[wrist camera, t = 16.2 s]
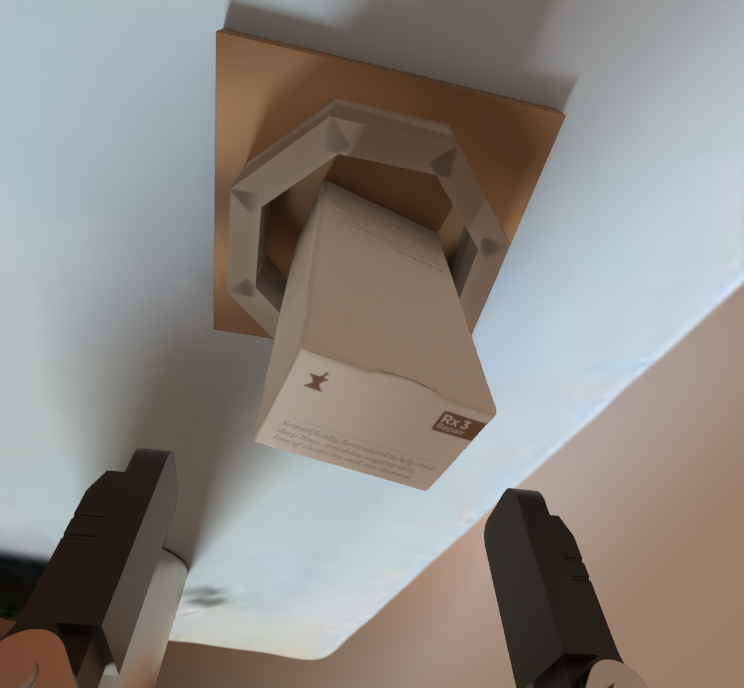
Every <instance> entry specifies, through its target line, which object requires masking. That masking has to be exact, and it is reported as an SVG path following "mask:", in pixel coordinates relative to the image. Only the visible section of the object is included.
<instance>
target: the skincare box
mask: <svg viewBox="0 0 744 688" xmlns="http://www.w3.org/2000/svg"><path fill="white" fill-rule="evenodd" d="M495 415H496V407H495V404H494V402H493V399H492V396H491V393H490V390H489V387H488V384H487V381H486V378H485V375H484V372H483V369H482V366H481V363H480V360H479V357H478V354H477V351H476V348H475V345H474V342H473V339H472V336H471V333H470V330H469V327H468V324H467V321H466V318H465V315H464V312H463V309H462V306H461V303H460V300H459V297H458V294H457V291H456V288H455V285H454V282H453V279H452V276H451V273H450V270H449V267H448V264H447V261H446V258H445V255H444V252H443V249H442V246H441V242H440V239H439V237H438V234H437V233H436V232H435V231H432V230H430V229H428V228H426V227H424V226H422V225H419V224H417V223H415V222H413V221H411V220H409V219H407V218H405V217H403V216H401V215H399V214H396V213H394V212H392V211H390V210H388V209H386V208H384V207H382V206H380V205H378V204H375V203H373V202H371V201H369V200H367V199H365V198H363V197H361V196H359V195H356V194H354V193H352V192H350V191H348V190H346V189H344V188H342V187H340V186H338V185H336V184H334V183H331V182H329V181H324V182H323V183H322V185H321V188H320V190H319V192H318V195H317V197H316V199H315V201H314V204H313V206H312V208H311V210H310V213H309V215H308V217H307V220H306V222H305V224H304V227H303V229H302V231H301V234H300V236H299V238H298V241H297V243H296V246H295V248H294V251H293V256H292V262H291V267H290V272H289V275H288V280H287V284H286V289H285V293H284V298H283V302H282V307H281V311H280V316H279V321H278V325H277V330H276V334H275V339H274V343H273V348H272V352H271V357H270V361H269V366H268V370H267V375H266V380H265V385H264V392H263V396H262V400H261V403H260V407H259V411H258V415H257V420H256V425H255V430H254V440H255V442H257V443H260V444H264V445H267V446H271V447H275V448H278V449H282V450H285V451H289V452H292V453H296V454H299V455H303V456H306V457H310V458H313V459H317V460H320V461H324V462H327V463H331V464H334V465H338V466H342V467H345V468H348V469H352V470H355V471H359V472H362V473H366V474H369V475H373V476H376V477H380V478H383V479H387V480H390V481H393V482H397V483H401V484H404V485H408V486H411V487H414V488H417V489H420V490H424V491H425V490H428V489H429V487H430V486H431V485H432V484H433V483H434V482H435V481H436V480H437V479H438V478H439V477H440V476H441V475H442V474H443V473H444V472H445V470H446V469H447V468H448V467H449V466H450V465H451V464H452V463H453V462H454V460H455V459H456V458H457V457H458V456H459V455H460V454H461V452H462V451H463V450H464V449H465V448H466V447H467V446H468V445H469V444H470V443H471V441H472V440H473V439H474V438H475V437H476V436H477V434H478V433H479V432H480V431H481V430H482V429H483V428H484V427H485V425H486V424H488V423H489V422H490V421H491V420H492V419H493V417H494V416H495Z"/></svg>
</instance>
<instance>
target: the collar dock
mask: <svg viewBox="0 0 744 688" xmlns="http://www.w3.org/2000/svg"><path fill="white" fill-rule="evenodd" d="M565 116H566V115H564V114H563V113H562V112H560V111H559V110H557V109H553V108H549V107H545V106H541V105H536V104H532V103H528V102H524V101H520V100H516V99H512V98H507V97H503V96H499V95H495V94H491V93H487V92H483V91H478V90H474V89H470V88H466V87H462V86H458V85H454V84H450V83H445V82H441V81H437V80H433V79H429V78H425V77H421V76H416V75H412V74H408V73H404V72H400V71H396V70H392V69H387V68H383V67H379V66H375V65H371V64H367V63H363V62H358V61H354V60H350V59H346V58H342V57H338V56H334V55H329V54H325V53H321V52H317V51H313V50H309V49H305V48H300V47H296V46H292V45H288V44H284V43H280V42H276V41H272V40H267V39H263V38H259V37H255V36H251V35H247V34H243V33H238V32H234V31H230V30H226V29H221V30H218V31H216V109H215V236H214V329H216V330H222V331H228V332H235V333H241V334H247V335H254V336H260V337H266V338H273V339H275V334H276V330H277V325H278V321H279V316H280V311H281V307H282V302H283V298H284V293H285V289H286V284H287V280H288V275H289V272H290V267H291V262H292V256H293V251H294V248H295V246H296V243H297V241H298V238H299V236H300V234H301V231H302V229H303V227H304V224H305V222H306V220H307V217H308V215H309V213H310V210H311V208H312V206H313V204H314V201H315V199H316V197H317V195H318V192H319V190H320V188H321V185H322V183H323V182H324V181H329V182H331V183H334V184H336V185H338V186H340V187H342V188H344V189H346V190H348V191H350V192H352V193H354V194H356V195H359V196H361V197H363V198H365V199H367V200H369V201H371V202H373V203H375V204H378V205H380V206H382V207H384V208H386V209H388V210H390V211H392V212H394V213H396V214H399V215H401V216H403V217H405V218H407V219H409V220H411V221H413V222H415V223H417V224H419V225H422V226H424V227H426V228H428V229H430V230H432V231H435V232H436V233H437V234H438V237H439V239H440V242H441V246H442V249H443V252H444V255H445V258H446V261H447V264H448V267H449V270H450V273H451V276H452V279H453V282H454V285H455V288H456V291H457V294H458V297H459V300H460V303H461V306H462V309H463V312H464V315H465V318H466V321H467V324H468V327H469V330H470V333H471V335H472V333H473V331H474V328H475V326H476V324H477V321H478V319H479V317H480V314H481V312H482V310H483V307H484V305H485V303H486V300H487V298H488V296H489V293H490V291H491V289H492V286H493V284H494V282H495V279H496V277H497V275H498V272H499V270H500V268H501V265H502V263H503V261H504V258H505V256H506V254H507V251H508V249H509V247H510V244H511V242H512V240H513V237H514V235H515V233H516V230H517V228H518V226H519V223H520V221H521V219H522V216H523V214H524V212H525V209H526V207H527V205H528V202H529V200H530V198H531V195H532V193H533V191H534V188H535V186H536V184H537V181H538V179H539V177H540V174H541V172H542V170H543V167H544V165H545V163H546V160H547V158H548V156H549V153H550V151H551V149H552V146H553V144H554V142H555V139H556V137H557V135H558V132H559V130H560V128H561V125H562V123H563V121H564V118H565Z"/></svg>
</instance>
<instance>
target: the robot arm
mask: <svg viewBox="0 0 744 688" xmlns="http://www.w3.org/2000/svg"><path fill="white" fill-rule="evenodd" d="M176 500H177V480H176V468H175V456H174V453H173V452H170V451H161V450H151V449H142V448H139V449H137V450H136V451H135V453H134V455H133V456H132V459H131V461H130V463H129V465H128V467H127V469H126V471H125V472H117V471H106V472H105V473H104V474H103V475H102V476H101V477H100V478H99V479H98V480H97V481H96V482H95V483H94V484H92V485H91V486H90V487H89V488H88V489H87V490H86V492H85V494H84V496H83V498H82V500H81V502H80V504H79V505H78V507H77V509H76V511H75V513H74V517H73V519H71V521H70V523H69V525H68V526H67V528H66V530H65V532H64V536H63V538H61V540H60V542H59V544H58V546H57V548H56V549H55V551H54V553H53V555H52V557H51V559H50V561H49V563H48V565H47V567H46V569H45V570H44V572H43V574H42V576H41V578H40V580H39V582H38V584H37V586H36V588H35V590H34V592H33V593H32V595H31V597H30V599H29V601H28V603H27V605H26V607H25V609H24V611H23V612H22V614H21V616H20V617H19V619H18V621H17V622H16V623H15V625H14V626H13V627H12V628H11V630H10V631H9V632H8V633H7V634H6V635H5V636H4V637H2V638H1V639H0V688H154V686H155V683H156V679H157V676H158V673H159V669H160V666H161V662H162V659H163V656H164V652H165V649H166V645H167V642H168V639H169V635H170V632H171V628H172V625H173V622H174V619H175V616H176V612H177V609H178V605H179V602H180V599H181V595H182V592H183V588H184V585H185V582H186V578H187V568H186V566H185V564H184V563H183V562H182V561H181V560H180V559H179V558H177V557H176V556H174V555H173V554H171V553H169V552H167V551H165V550H163V549H162V547H163V544H164V541H165V538H166V535H167V532H168V529H169V526H170V523H171V520H172V517H173V514H174V510H175V506H176ZM484 541H485V548H486V552H487V557H488V561H489V565H490V570H491V575H492V579H493V584H494V588H495V593H496V597H497V602H498V607H499V611H500V616H501V620H502V625H503V628H504V634H505V638H506V642H507V647H508V652H509V656H510V661H511V665H512V670H513V674H514V679H515V683H516V688H648V686H647V685H646V683H645V682H644V681H643V679H642V678H641V677H640V676H639V675H638V674H637V673H636V672H635V671H633V670H632V669H631V668H630V667H628V666H626V665H625V664H624V662H623V661H622V659H621V657H620V655H619V653H618V651H617V648H616V646H615V643H614V640H613V638H612V635H611V633H610V630H609V627H608V625H607V622H606V620H605V617H604V614H603V612H602V609H601V607H600V604H599V601H598V599H597V596H596V594H595V591H594V588H593V585H592V583H591V581H589V575H588V572H587V570H586V567H585V565H584V563H582V557H581V554H580V551H579V549H578V546H577V544H576V541H575V539H574V536H573V535H572V533H571V532H570V531H569V529H568V528H567V527H566V525H565V524H564V523H563V521H562V520H561V519H560V517H559V516H554V515H550V514H549V512H548V509H547V506H546V503H545V500H544V498H543V496H542V495H541V494H540V493H539V492H538V491H531V490H522V489H512V488H508V489H507V490H506V491H505V492H504V493H503V495H502V497H501V498H500V500H499V502H498V503H497V505H496V507H495V508H494V510H493V511H492V513H491V515H490V516H489V518H488V520H487V522H486V525H485V531H484Z"/></svg>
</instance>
